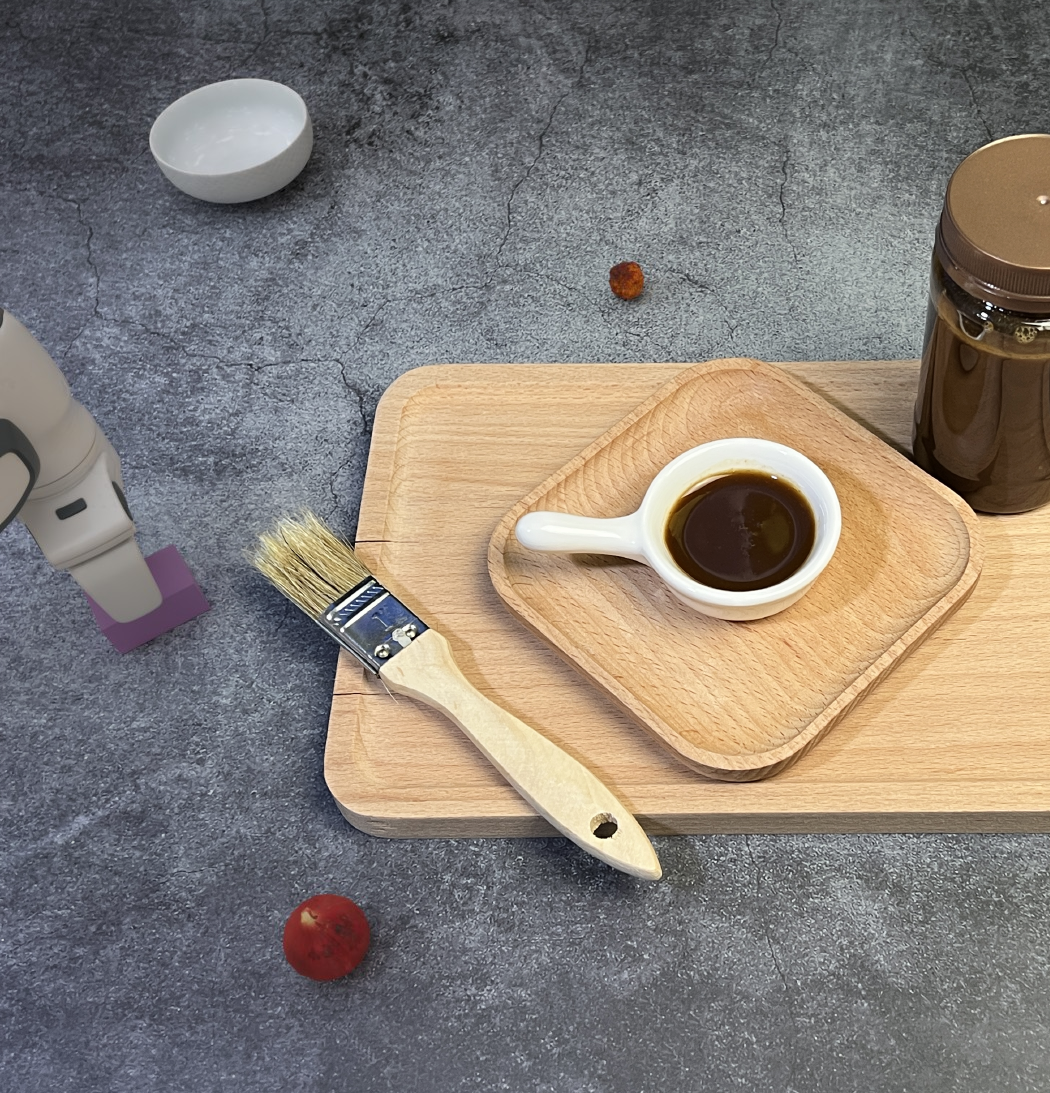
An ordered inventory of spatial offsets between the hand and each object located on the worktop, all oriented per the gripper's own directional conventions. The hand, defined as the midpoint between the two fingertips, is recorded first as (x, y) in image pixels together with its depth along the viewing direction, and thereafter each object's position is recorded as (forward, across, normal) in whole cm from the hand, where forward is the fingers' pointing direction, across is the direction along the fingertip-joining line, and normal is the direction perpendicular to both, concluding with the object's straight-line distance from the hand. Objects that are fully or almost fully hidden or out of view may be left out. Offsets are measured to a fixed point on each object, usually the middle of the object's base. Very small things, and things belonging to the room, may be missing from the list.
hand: (130, 567), depth 112 cm
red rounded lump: (+2, +40, +1) cm, 40 cm away
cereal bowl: (+3, -46, +29) cm, 54 cm away
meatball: (+2, -5, +53) cm, 53 cm away
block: (+2, +4, 0) cm, 5 cm away
